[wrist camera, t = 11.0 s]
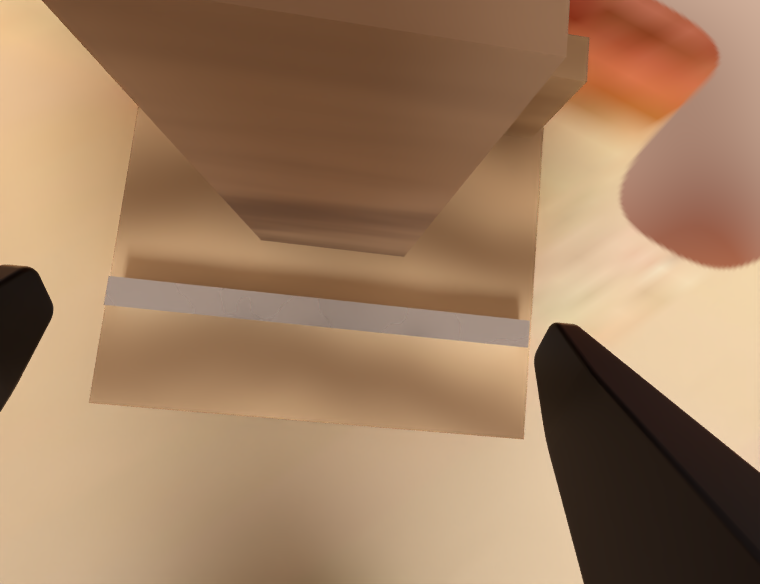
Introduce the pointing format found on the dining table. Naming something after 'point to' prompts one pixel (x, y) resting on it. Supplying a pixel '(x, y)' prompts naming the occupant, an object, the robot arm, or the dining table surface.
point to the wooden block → (329, 100)
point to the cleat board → (329, 299)
